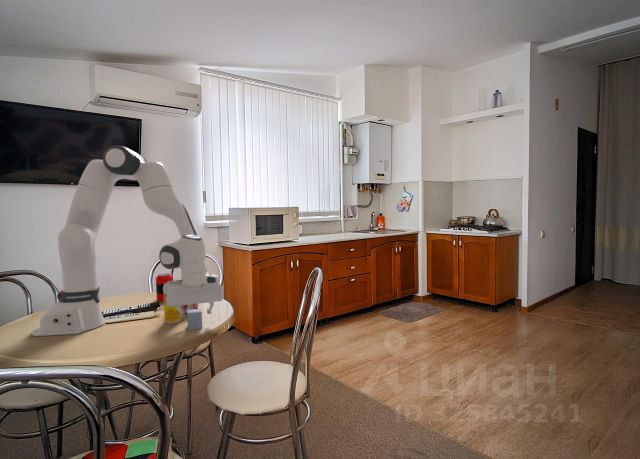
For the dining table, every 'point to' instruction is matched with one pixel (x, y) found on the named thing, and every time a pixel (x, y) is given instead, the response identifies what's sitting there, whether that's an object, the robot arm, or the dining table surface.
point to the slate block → (194, 318)
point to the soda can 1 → (162, 285)
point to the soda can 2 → (189, 307)
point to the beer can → (170, 312)
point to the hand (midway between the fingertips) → (196, 315)
